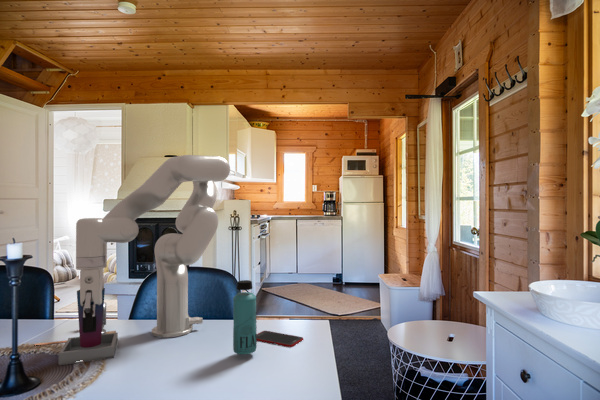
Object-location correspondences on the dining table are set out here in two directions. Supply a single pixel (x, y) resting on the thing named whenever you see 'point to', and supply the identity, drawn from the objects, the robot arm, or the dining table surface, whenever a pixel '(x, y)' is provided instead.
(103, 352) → the tray
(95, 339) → the cup
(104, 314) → the crank
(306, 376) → the dining table surface
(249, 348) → the beverage bottle
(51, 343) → the crank base
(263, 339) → the cell phone
